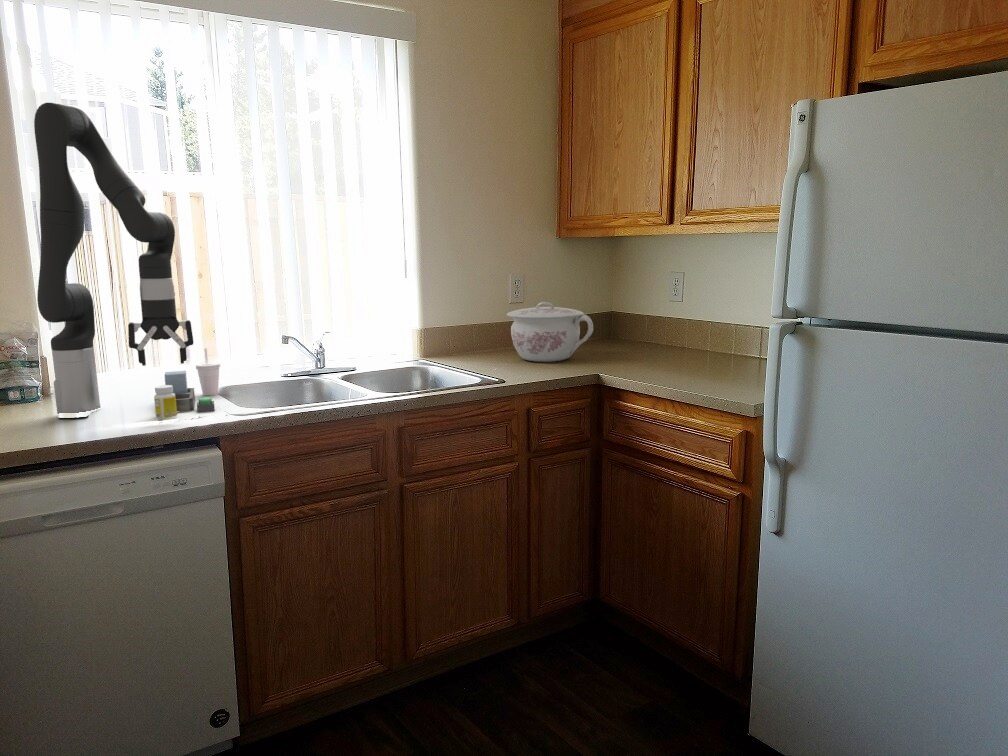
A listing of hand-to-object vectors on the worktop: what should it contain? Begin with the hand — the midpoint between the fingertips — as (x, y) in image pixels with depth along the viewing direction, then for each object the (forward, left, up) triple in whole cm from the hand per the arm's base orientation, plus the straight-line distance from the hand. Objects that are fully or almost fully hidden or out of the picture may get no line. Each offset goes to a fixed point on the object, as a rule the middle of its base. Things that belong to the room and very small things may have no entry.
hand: (163, 364), depth 184 cm
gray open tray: (+2, +11, -14) cm, 18 cm away
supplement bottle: (0, -1, -14) cm, 14 cm away
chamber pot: (+122, +46, -14) cm, 131 cm away
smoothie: (+10, +24, -14) cm, 29 cm away
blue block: (+2, +15, -13) cm, 20 cm away
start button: (+9, +2, -15) cm, 17 cm away
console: (+9, +2, -14) cm, 16 cm away
